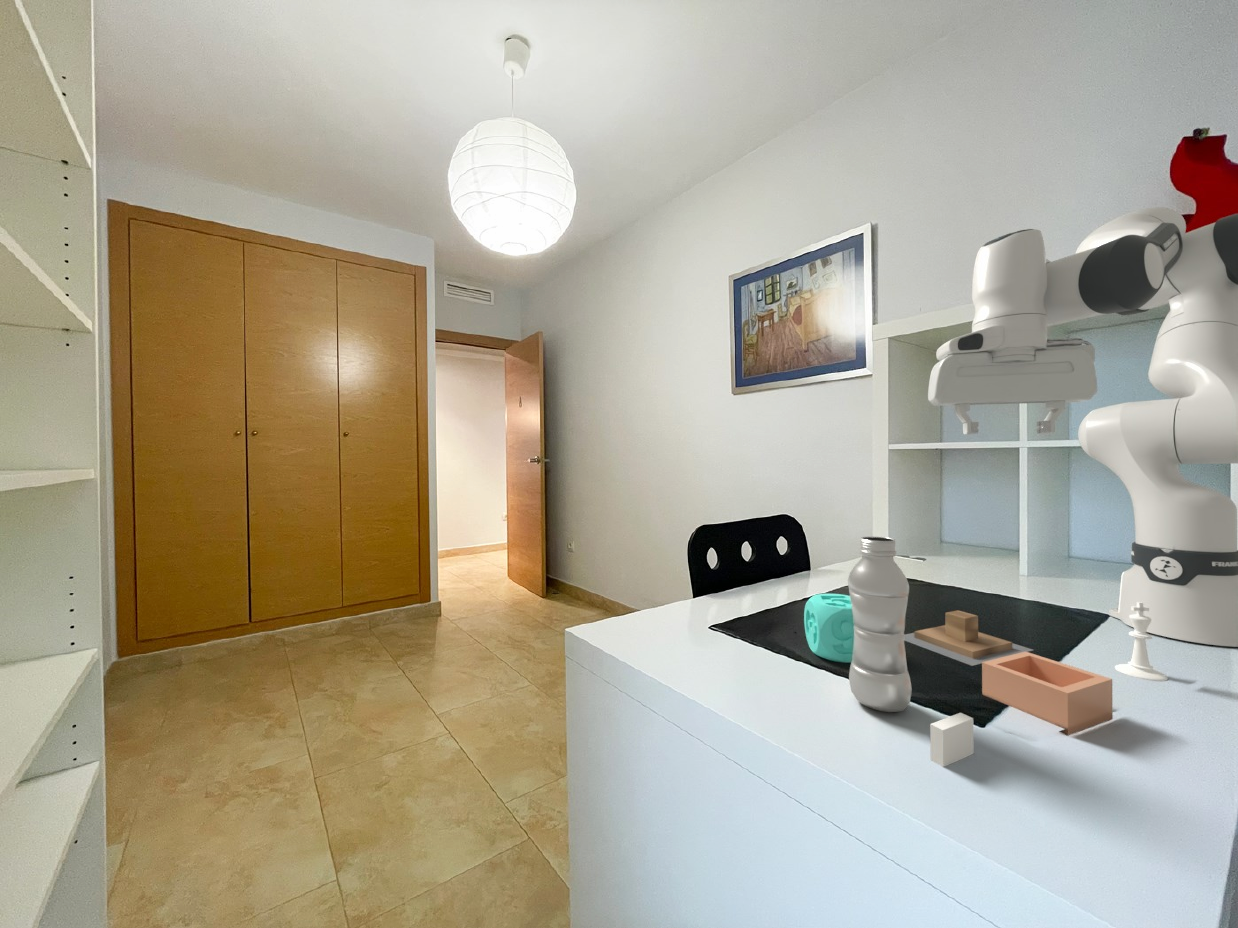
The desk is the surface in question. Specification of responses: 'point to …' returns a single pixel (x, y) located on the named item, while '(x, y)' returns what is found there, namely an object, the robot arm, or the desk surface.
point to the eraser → (951, 739)
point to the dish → (1049, 690)
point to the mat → (963, 658)
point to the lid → (963, 636)
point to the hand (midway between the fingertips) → (1007, 433)
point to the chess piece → (1140, 649)
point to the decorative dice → (830, 626)
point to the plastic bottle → (879, 628)
